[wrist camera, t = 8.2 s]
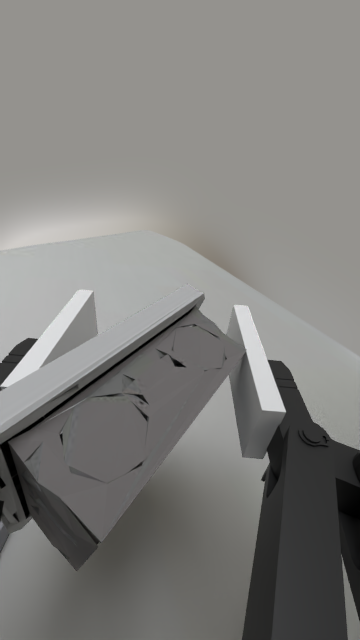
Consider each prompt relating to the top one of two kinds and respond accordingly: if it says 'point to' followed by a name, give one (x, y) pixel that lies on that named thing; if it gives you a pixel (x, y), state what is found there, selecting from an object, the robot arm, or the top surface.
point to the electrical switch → (106, 420)
